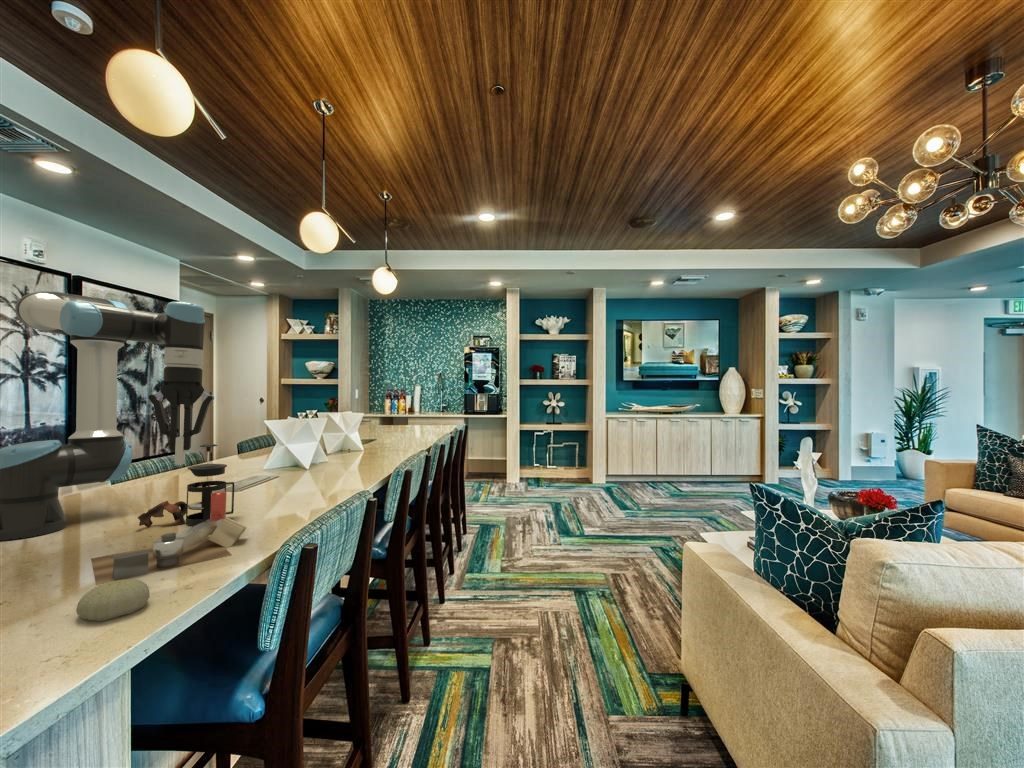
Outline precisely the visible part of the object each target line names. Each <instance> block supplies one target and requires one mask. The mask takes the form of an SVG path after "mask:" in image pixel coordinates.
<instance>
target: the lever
mask: <svg viewBox="0 0 1024 768" xmlns="http://www.w3.org/2000/svg"><path fill="white" fill-rule="evenodd" d="M226 512H227V491H226V492H225V490H224V491H221V490H219V491H212V493H211V508H210V519H209V520H206V521H204V522H202V523H200V524H198V525H195V526H193V527H191V526H190V527H189V528H187V529H185V530H183V531H180V532H178V533H176V539H175V540H172V541H161V538H159V539H156V540H154V541H153V543H152V547H153V559H168V558H173V557H176V556H179V555H181V554H182V553H183V549H185V548H186V547H188V546H190V545H192V544H194V543H196V542H198V541H200V540H202V539H204V538H206V537H209V536H211V535H212V534H213V532H214V531H215V529H216V528H217V527H218V525H219V524H220V522H221V521H222V520H223V519H226V518H227V514H226Z"/></svg>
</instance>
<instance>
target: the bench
mask: <svg viewBox="0 0 1024 768" xmlns="http://www.w3.org/2000/svg"><path fill="white" fill-rule="evenodd" d="M176 534H177V533H176V532H167V533H164V534H162V535H161V538H160V539H161V541H172V540H175V539H176ZM210 536H211V535H210ZM210 536H208V537H206V538H204V539H202V540H200V541H198V542H196V543H194V544H192V545H190V546H188V547H186V548H185V549H183V553H182V554H181V555H179V556H176V557H173V558H168V559H153V546H151V547H145V548H140V549H139V548H138V549H134V550H129V551H128V550H127V551H123V552H118V553H112V554H109V555H108V554H107V555H102V556H97V557H92V558H90V560H91V566H92V570H93V577H94V582H95V585H96V586H99V585H102V584H104V583H107V582H111V581H117V580H127V579H132V578H134V577H135V578H136V577H140V576H143V575H144V576H145V575H149V574H152V573H153V574H154V573H157V572H162V571H167V570H172V569H175V568H176V569H177V568H180V567H185V566H188V565H189V566H190V565H194V564H198V563H203V562H208V561H212V560H213V561H214V560H216V559H220V558H221V559H222V558H227V557H231V556H233V554H232V553H231V552H230V551H229V550H228V549H227V547H223V546H221V545H219V544H217V543H215V542H213V541H211V540H209V538H210Z"/></svg>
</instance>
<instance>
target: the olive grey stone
mask: <svg viewBox="0 0 1024 768" xmlns="http://www.w3.org/2000/svg"><path fill="white" fill-rule="evenodd" d="M150 594H151V593H150V588H149V586H148V585H147V583H145V582H144V581H142V580H140V579H136V578H127V579H122V580H117V581H111V582H107V583H104V584H99V585H97V586H95V587H94V588H92V589H91V590H88V591H87V592H86V593H85V594H84V595H83V596H82V597H81V598H80V599H79V601H78V603H77V606H76V609H75V612H76V614H77V616H79V617H80V618H82V619H83V620H84V619H85V620H89V621H92V622H93V621H97V622H98V621H99V622H103V621H108V620H111V619H117V618H118V617H121V616H124V615H128V614H131V613H133V612H136V611H138V610H140V609H141V608H143V607H144V605H145V604H147V601H148V600H149V598H150Z"/></svg>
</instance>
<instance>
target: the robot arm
mask: <svg viewBox="0 0 1024 768" xmlns="http://www.w3.org/2000/svg"><path fill="white" fill-rule="evenodd" d="M14 313H15V315H16V317H17V318H18V320H19V321H20V322H21V323H23V325H25V326H28V327H29V328H32V329H34V330H37V331H42V332H45V333H49V334H57V335H64V336H66V335H67V336H70V337H69V343H70V344H71V345H73V346H74V347H75V348H76V350H77V351H76V352H77V356H76V357H77V362H76V363H77V364H76V365H77V366H76V369H77V370H76V410H75V411H76V413H75V414H76V415H75V416H76V417H75V421H76V422H75V423H76V424H75V425H76V427H75V432H73V433H72V434H71V435H70V436H69V437H68V438H67V439H68V442H67V444H62V442H61V441H60V440H59V439H48V440H37V441H36V440H35V441H30V442H29V441H28V442H22V443H17V444H16V443H15V444H12V445H7V446H3V447H1V448H0V540H3V541H10V540H9V539H13V540H20V539H19V538H21V539H27V537H28V538H31V537H32V536H33V537H38V536H43V535H47V534H51V533H54V532H57V531H60V530H63V529H65V527H67V516H66V513H65V511H64V508H63V506H62V505H61V503H60V500H59V490H60V488H65V487H72V486H80V485H81V486H82V485H87V484H95V483H102V484H103V483H106V482H109V481H114V480H115V481H116V480H119V479H121V478H122V477H124V476H125V475H126V474H127V472H128V471H129V469H130V466H131V464H132V460H133V454H134V453H133V452H134V451H133V448H132V443H131V442H129V440H126V439H124V434H123V433H121V432H120V431H119V430H118V427H117V421H118V420H117V417H118V416H117V414H118V411H117V410H118V406H117V405H118V399H117V398H118V350H119V349H122V347H124V346H125V341H128V342H129V341H131V342H139V343H140V342H141V343H146V344H147V343H149V344H151V345H160V346H164V354H163V355H164V359H163V361H164V362H163V363H164V364H165V365H167V366H165V367H164V368H163V379H162V380H163V382H162V383H163V384H162V386H161V387H160V389H159V390H158V392H156V393H153V394H148V396H147V397H148V400H149V401H150V402H151V404H152V405H153V408H154V412H155V416H156V421H157V423H158V429H159V431H160V434H161V435H163V436H167V437H169V438H170V439H169V441H170V442H169V450H170V451H172V452H173V451H174V453H175V454H174V466H180V465H182V466H183V465H184V464H185V463H186V451H190V450H191V447H192V437H193V436H194V435H198V434H200V433H201V431H202V428H203V426H204V422H205V419H206V416H207V413H208V410H209V407H210V405H211V404H212V402H214V400H215V396H214V395H211V394H209V393H207V392H205V388H204V387H203V369H202V368H201V367H202V366H204V343H205V342H204V341H205V337H204V336H205V323H206V320H205V309H204V307H203V306H202V305H199V304H196V303H193V302H185V301H171V302H168V303H167V304H166V308H165V312H164V313H158V312H152V311H151V312H150V311H144V310H138V309H131V308H129V307H128V306H127V305H126V304H125V303H122V302H119V301H115V300H114V301H113V300H112V299H111V300H110V299H108V298H99V297H91V296H86V295H79V294H73V293H72V294H71V293H67V292H66V293H65V292H60V291H48V290H47V291H46V290H45V291H36V292H31V293H28V294H25V295H23V296H21V297H20V298H19V299H18V300H17V302H16V303H15V305H14ZM163 396H164V398H165V399H166V400H167V402H169V404H170V427H169V423H168V420H167V414H166V411H165V407H164V403H163V402H162V401H164V398H163ZM200 397H201V402H202V403H201V405H200V408H199V412H198V414H197V417H196V421H195V423H194V426H193V413H194V412H193V408H194V404H195V403H196V402H197V401H198V400H199V399H200ZM181 405H183V409H184V410H183V411H184V412H183V413H184V414H183V433H182V436H180V412H181ZM37 535H38V536H37ZM33 537H32V538H33Z"/></svg>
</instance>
